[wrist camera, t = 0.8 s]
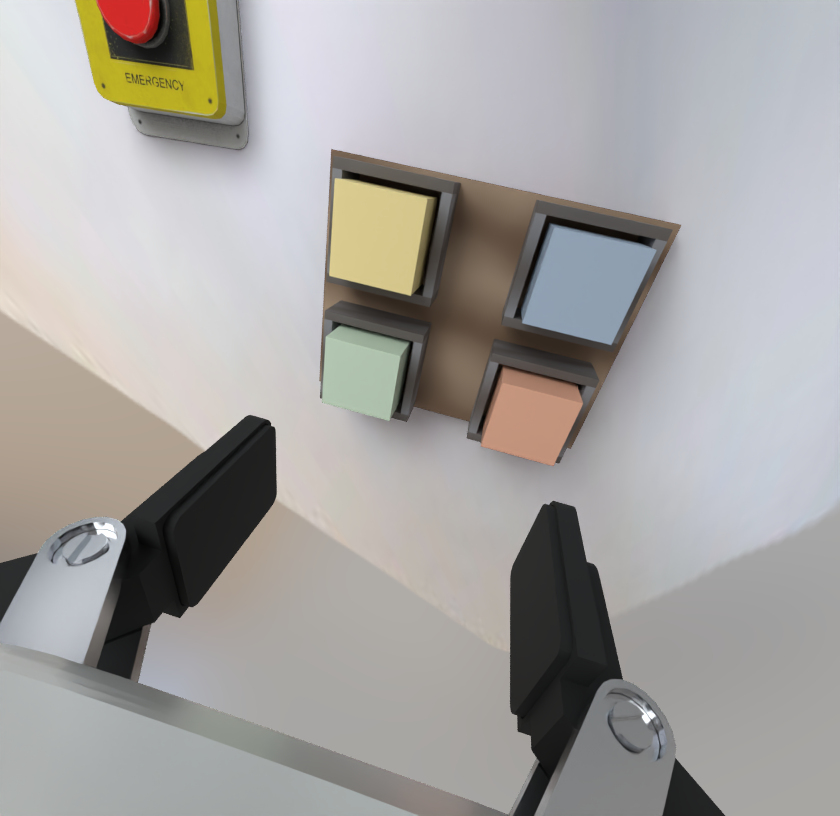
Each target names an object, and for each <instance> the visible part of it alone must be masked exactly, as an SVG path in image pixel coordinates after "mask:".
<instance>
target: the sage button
mask: <svg viewBox="0 0 840 816" xmlns="http://www.w3.org/2000/svg"><path fill="white" fill-rule="evenodd" d="M411 342H412V341H409V340H405V339H401V338H397V337H394V336H390V335H386V334H382V333H378V332H374V331H370V330H366V329H362V328H358V327H354V326H351V325H347V324H341V325H340V326H339V327H337V328H336V329H335V330H334V331H332V332H331V333H330V334H329V335H327V336H326V340H325V358H324V375H323V393H322V403H325V404H329V405H333V406H336V407H340V408H344V409H347V410H351V411H354V412H358V413H362V414H365V415H369V416H373V417H376V418H380V419H384V420H387V421H390V419H391V417H392V415H393V413H394V411H395V410H396V408H397V406H398V404H399V402H400V400H401V396H402V391H403V385H404V380H405V374H406V369H407V363H408V358H409V352H410V347H411Z"/></svg>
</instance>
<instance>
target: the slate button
mask: <svg viewBox="0 0 840 816" xmlns="http://www.w3.org/2000/svg"><path fill="white" fill-rule="evenodd" d="M656 251H657V250H655V249H653V248H651V247H648V246H646V245H643V244H641V243H638V242H634V241H630V240H625V239H621V238H616V237H612V236H607V235H603V234H598V233H594V232H589V231H585V230H580V229H576V228H571V227H567V226H562V225H558V224H553V223H549V224H548V227H547V230H546V233H545V236H544V239H543V242H542V245H541V248H540V252H539V255H538V258H537V261H536V264H535V267H534V270H533V273H532V276H531V279H530V282H529V285H528V288H527V291H526V294H525V297H524V300H523V303H522V306H521V314H522V323H524V324H528V325H532V326H536V327H540V328H544V329H548V330H552V331H556V332H560V333H564V334H568V335H572V336H577V337H581V338H585V339H589V340H593V341H597V342H601V343H605V344H609V345H612V342H613V340H614V338H615V336H616V334H617V332H618V330H619V328H620V326H621V324H622V322H623V319H624V317H625V315H626V313H627V311H628V309H629V307H630V305H631V303H632V301H633V299H634V297H635V294H636V292H637V290H638V288H639V286H640V284H641V282H642V280H643V278H644V276H645V274H646V271H647V269H648V267H649V265H650V263H651V261H652V259H653V257H654V255H655V253H656Z"/></svg>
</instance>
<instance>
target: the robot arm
mask: <svg viewBox="0 0 840 816" xmlns="http://www.w3.org/2000/svg"><path fill="white" fill-rule="evenodd" d="M276 494H277V485H276V431H275V428H274V427H272V426H271V423H270V421H269V420H266V419H263V418H259V417H256V416H252V415H248V416H246V417H245V418H244V419H243V420H241V421H240V422H239V423H238V424H237V425H236V426H234V427H233V428H232V429H231V430H230V431H229V432H227V433H226V434H225V435H224V436H223V437H222V438H220V439H219V440H218V441H217V442H216V443H215V444H213V445H212V446H211V447H210V448H209V449H207V450H206V451H205V452H203V453H202V454H200V455H199V456H197V457H196V458H195V459H194V460H193V461H191V462H190V463H189V464H188V465H187V466H186V467H185V468H183V469H182V470H181V471H180V472H179V473H177V474H176V475H175V476H174V477H173V478H172V479H170V480H169V481H168V482H167V483H166V484H164V486H162V487H161V488H160V489H159V490H157V491H156V492H155V493H154V494H153V495H151V496H150V497H149V498H148V499H147V500H146V501H144V502H143V503H142V504H141V505H140V506H139V507H137V508H136V509H135V510H134V511H133V512H131V513H130V514H129V515H128V516H127V517H126V518H124V519H123V520H122V521H121V522H120V521H118V520H116V519H113V518H109V517H94V518H89V519H84V520H80V521H78V522H75V523H72V524H70V525H68V526H66V527H64V528H62V529H61V530H59V531H57V532H56V533H55V534H53V535H52V536H51V537H50V538H49V539H47V540H46V542H45V543H44V544H43V546H42V547H41V548H40V550H39V552H38V553H36V554H33V555H29V556H25V557H21V558H17V559H14V560H10V561H6V562H3V563H0V816H725V815H724V814H723V813H722V811H721V810H720V809H719V808H718V807H717V806H716V805H715V803H714V802H713V801H712V800H711V799H710V798H709V796H708V795H707V794H706V793H705V792H704V791H703V789H702V788H701V787H700V786H699V785H698V784H697V783H696V781H695V780H694V779H693V778H692V777H691V776H690V775H689V773H688V772H687V771H686V770H685V769H684V767H682V765H681V764H680V763H679V762H678V761H677V759H676V758H675V752H676V744H675V740H674V736H673V732H672V729H671V727H670V725H669V723H668V721H667V719H666V717H665V715H664V714H663V712H662V711H661V709H660V708H659V707H658V705H657V704H656V703H655V702H654V701H653V700H652V699H651V698H650V697H649V696H648V695H647V694H646V693H645V692H644V691H643V690H641V689H640V688H638V687H637V686H636V685H634V684H632V683H630V682H627V681H624V680H623V678H622V674H621V670H620V665H619V661H618V656H617V652H616V647H615V643H614V638H613V634H612V630H611V626H610V621H609V617H608V612H607V608H606V603H605V599H604V595H603V590H602V586H601V581H600V577H599V573H598V570H597V568H596V566H595V565H594V564H591V563H588V562H587V561H586V556H585V551H584V546H583V541H582V536H581V532H580V527H579V522H578V517H577V512H576V509H575V507H573V506H570V505H566V504H563V503H559V502H556V501H552V502H551V503H550V505H547V504H544V505H543V506H542V508H541V510H540V512H539V514H538V516H537V518H536V520H535V522H534V524H533V526H532V528H531V530H530V532H529V534H528V536H527V538H526V540H525V542H524V544H523V546H522V548H521V550H520V552H519V554H518V556H517V558H516V560H515V562H514V564H513V566H512V570H511V578H510V708H511V712H512V714H515V715H517V717H518V718H517V719H518V732H521V733H524V734H527V735H530V736H531V749H532V751H533V753H534V754H535V756H536V757H537V759H536V761H535V763H534V765H533V767H532V769H531V771H530V773H529V775H528V777H527V779H526V781H525V783H524V785H523V787H522V789H521V791H520V793H519V795H518V797H517V799H516V801H515V803H514V805H513V807H512V809H511V811H510V813H509V815H508V814H505V813H502V812H500V811H497V810H494V809H492V808H489V807H486V806H484V805H481V804H479V803H476V802H474V801H471V800H468V799H465V798H463V797H460V796H457V795H454V794H451V793H449V792H446V791H443V790H440V789H437V788H435V787H432V786H429V785H426V784H424V783H421V782H418V781H415V780H412V779H410V778H407V777H404V776H401V775H398V774H395V773H393V772H390V771H387V770H385V769H382V768H379V767H376V766H373V765H371V764H368V763H365V762H362V761H360V760H356V759H354V758H351V757H348V756H345V755H343V754H340V753H337V752H334V751H331V750H328V749H325V748H323V747H320V746H317V745H314V744H312V743H308V742H306V741H303V740H300V739H297V738H294V737H291V736H289V735H286V734H283V733H280V732H278V731H275V730H272V729H269V728H266V727H263V726H260V725H258V724H255V723H252V722H249V721H246V720H244V719H241V718H238V717H235V716H232V715H229V714H226V713H224V712H221V711H218V710H215V709H212V708H209V707H206V706H203V705H201V704H198V703H195V702H192V701H189V700H186V699H183V698H181V697H178V696H175V695H172V694H169V693H166V692H163V691H160V690H158V689H155V688H152V687H149V686H146V685H143V684H140V683H138V680H139V676H140V672H141V667H142V663H143V658H144V654H145V650H146V645H147V641H148V636H149V632H150V628H151V623H154V622H155V621H156V620H157V619H158V617H159V616H160V615H161V614H162V613H166V614H169V615H172V616H175V617H178V618H180V617H181V616H182V615H183V613H184V612H185V611H186V610H187V608H188V607H194V606H195V605H197V604H198V603H199V601H200V600H201V599H202V598H203V596H204V595H205V594H206V592H207V591H208V590H209V588H210V587H211V586H212V584H213V583H214V582H215V580H216V579H217V578H218V576H219V575H220V574H221V573H222V571H223V570H224V569H225V567H226V566H227V564H228V563H229V562H230V561H231V559H232V558H233V557H234V555H235V554H236V553H237V551H238V550H239V549H240V547H241V546H242V545H243V543H244V542H245V541H246V539H247V538H248V537H249V536H250V534H251V533H252V532H253V530H254V529H255V528H256V526H257V525H258V524H259V522H260V521H261V520H262V518H263V517H264V516H265V514H266V513H267V512H268V510H269V509H270V507H271V506H272V505H273V503H274V501H275V499H276Z"/></svg>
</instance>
